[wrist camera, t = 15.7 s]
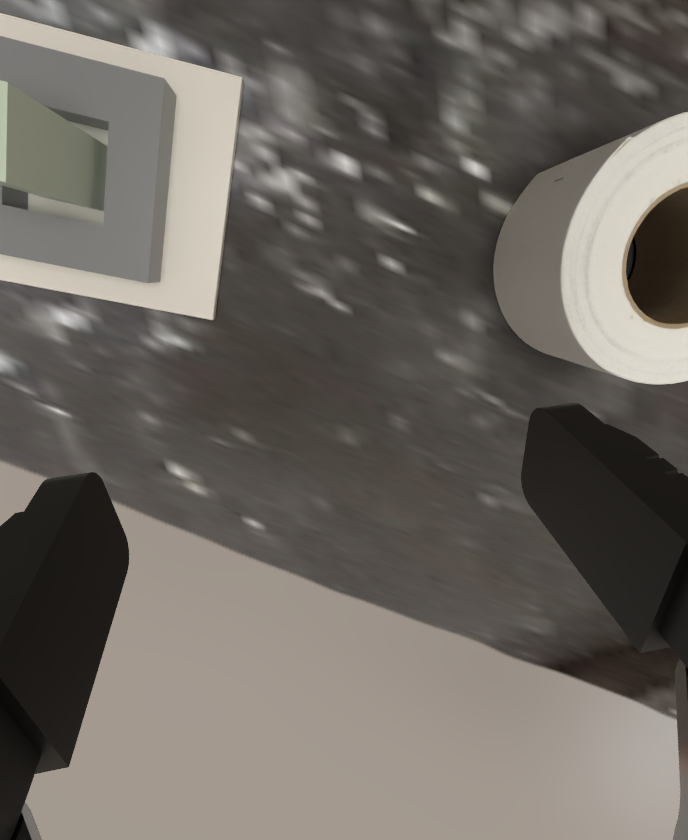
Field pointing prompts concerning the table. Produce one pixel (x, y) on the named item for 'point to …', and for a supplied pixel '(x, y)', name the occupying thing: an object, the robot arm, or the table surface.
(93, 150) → the plug
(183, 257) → the plate
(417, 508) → the table surface
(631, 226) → the roll of tape
